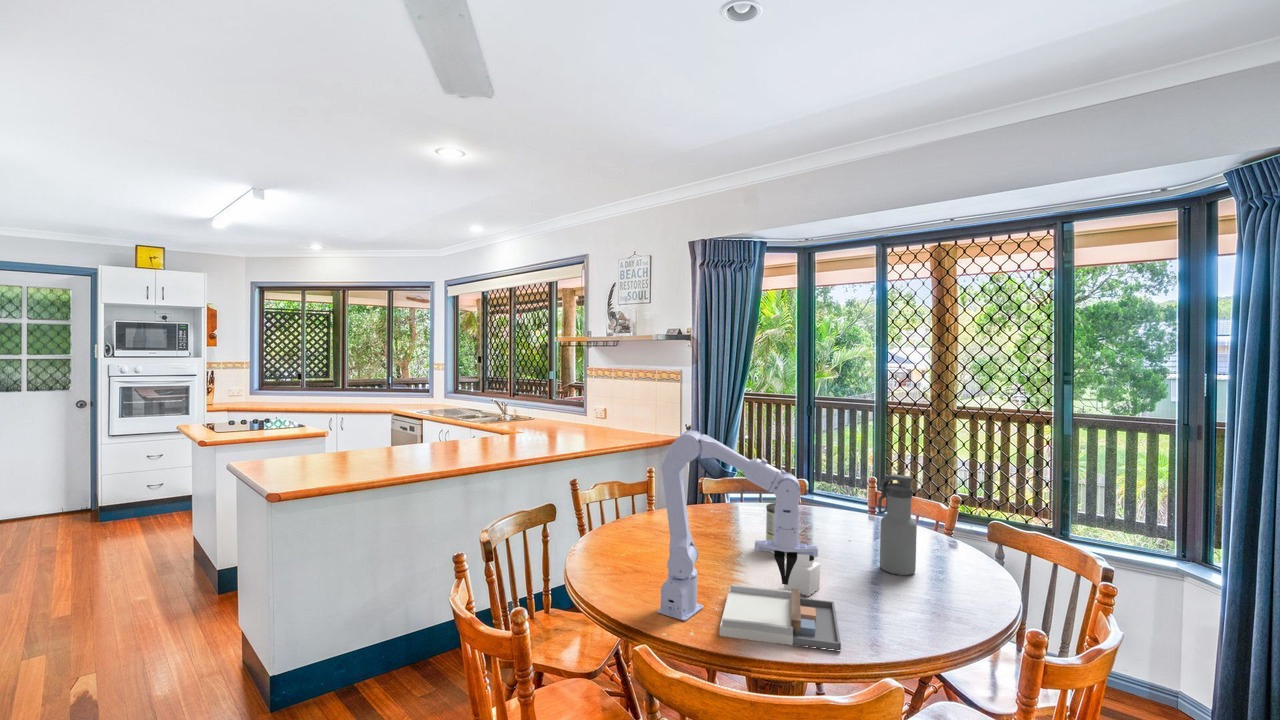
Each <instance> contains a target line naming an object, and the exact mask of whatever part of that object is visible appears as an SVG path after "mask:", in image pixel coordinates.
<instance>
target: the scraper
mask: <svg viewBox="0 0 1280 720" xmlns="http://www.w3.org/2000/svg"><path fill="white" fill-rule="evenodd" d="M800 598H801V594H800V589H793V588H791V627H793V631H796V632H801V611H800Z"/></svg>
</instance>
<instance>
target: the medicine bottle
mask: <svg viewBox="0 0 1280 720" xmlns="http://www.w3.org/2000/svg"><path fill="white" fill-rule="evenodd" d="M801 544H806V545H809V544H808V543H801ZM820 570H821V563H819V562H816V561H815V557H814V556H812V555H802V554H797V561H796V563H795V565H794V566H793V569H792V571H791V573H790V577H789V581H788V585H786V584H783V585H784V589H783V590H786V591H787V590H788V591H791V588H793V589H800V595H801V594H802V596H804V595H806V596H805V597H808V596H809V597H810V596H812V595H813V594H814V593H816V592H817V591H818V590H820V588H821V587H820V586H821V584H820V583H821V581H820V580H821V571H820ZM785 574H786V563H785ZM815 591H816V592H815ZM811 594H812V595H811Z"/></svg>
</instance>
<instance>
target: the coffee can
mask: <svg viewBox="0 0 1280 720" xmlns="http://www.w3.org/2000/svg"><path fill="white" fill-rule="evenodd" d="M775 505H776V502H772V503H769V504H766V520H765V521H766V527H765V528H766V530H765V533H766V534H765V535H766V536H765V537H766V539H765V541H774V512H775ZM767 552H768V553H770V554H773V555H774V552H773V551H767ZM785 556H787V553H785Z"/></svg>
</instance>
